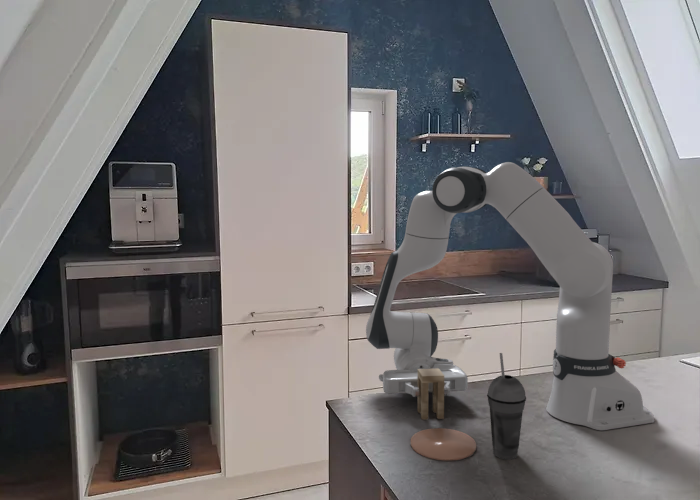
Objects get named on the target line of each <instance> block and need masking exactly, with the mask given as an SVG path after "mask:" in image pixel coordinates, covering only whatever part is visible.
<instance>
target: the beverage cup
mask: <svg viewBox="0 0 700 500" xmlns="http://www.w3.org/2000/svg"><path fill="white" fill-rule="evenodd" d="M499 361H500V363H499V364H500V372H501V374H500V375H498V376H497V377H495V378H494V379H492V381H491V382H490V384H489V386H488V390H487V395H486V396H487V401H488V406H489V417H490V430H491V433H490V434H491V445H492V450H493V451H492V453H493V455H494V456H495V457H497V458H498V459H502V460H514V459H516V458H517V457H518V451H519V448H520V447H519V446H520V440H521V439H520V436H521V432H522V431H521V430H522V422H523V421H522V420H523V413H524V408H525V405H526V401H527V397H526V390H525V388H524V386H523V384H522V383H521V381H520V380H519V379H518V378H516V377H515V376H513V375H509V374H505V366H504V357H503V353H502V352H500V353H499Z"/></svg>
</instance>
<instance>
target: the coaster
mask: <svg viewBox="0 0 700 500" xmlns="http://www.w3.org/2000/svg"><path fill="white" fill-rule="evenodd" d="M410 447H411V448H412V450H413V451H414V452H416V454H419V455H420V456H422V457H425V458H427V459H432V460H438V461H446V462H447V461H448V462H449V461H458V460H464V459H467V458H469V457H471V456H473V454H474V453H475V452H476V451H477V442H476V441H475V439H474V438H473V437H472V436H471V435H469V434H467V433H465V432H462V431H461V430H456V429H451V428H444V427H443V428H442V427H439V428H438V427H437V428H436V427H433V428H428V429H427V428H426V429H422V430H420V431H418V432H415V433H414V434H413V435H412V436H411V438H410Z"/></svg>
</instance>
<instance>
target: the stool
mask: <svg viewBox="0 0 700 500" xmlns="http://www.w3.org/2000/svg"><path fill="white" fill-rule="evenodd" d="M428 383H433V392H432V411H433V413H436V414H435V416H436V419H437V420H441V419H442V420H444V419H445V395H444V374H443V373H442V372H441V371H440V369H439V368H436V369H418V382H417V387H418V388H419V390H420V393H419V394H420V396H418V397H417V402H416V403H417V412H418V414H420V419H421V420H423V421H424V420H429V392H428Z"/></svg>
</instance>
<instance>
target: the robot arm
mask: <svg viewBox="0 0 700 500" xmlns="http://www.w3.org/2000/svg"><path fill="white" fill-rule="evenodd" d="M487 205H489V206H491V207H493V208H494V209H496V210H497V211H498V212H499V213H500V215H501V216H502V217H503V218H504V219H505V220H506V221H507V223H508V224H510V226H511V227H512V228H513V229H514V230H515V232H517V233H518V235H520V237H521V238H522V239H523V240H524V242H525V243H527V244H528V246H529V247H530V248H531V249H532V251H533V252H534V254H535V255H536V257H537V258H538V259H539V261H540V263H541V264H542V265H543V266H544V267H545V270H547V271H548V273H549V275H550V276H551V277H552V278H553V279H554V281H556V283H557V285H558V286H559V293H558V294H559V295H558V304H557V306H558V307H557V313H556V325H555V327H556V329H555V330H556V331H555V349H554V350H553V359H552V373H553V381H552V386H551V390H550V396H549V399H548V402H547V404H546V408H545V409H546V412H548V414H550V415H551V416H552V417H553V418H556V419H558V420H561V421H564V422H567V423H570V424H574V425H579V426H584V427H588V428H590V429H593V430H597V431H607V430H613V429H619V428H627V427H634V426H638V425H639V426H640V425H645V424H651V423H653V424H654V423H655V415H654V414H653V413H652V411H651V410H649V409H648V408H647V407H645V405H644V403H643V398H642V394H641V392H640V390H639V388H638V387H637V386H635V385H634V384H633V383H632V382H631V381H630V380H628V379H627V378H625V376H624V375H622V374H621V373H619V372H618V371H617V369H616V367H617V368H619V369H624V368H625V367H626V364H627V361H626V360H625V359H622V358H620V357H617V356H616V357H615V356H613V355H611V354H610V330H611V329H610V328H611V313H612V312H611V310H612V293H613V292H612V291H613V290H612V289H613V276H614V275H613V273H614V261H613V258H612V256H611V254H610V251H608V250H607V248H605V247H604V245H601V244H600V243H597V242H594V241H592V240H591V238H589V237H588V236H587V234H586V233H585V232H584V230H583V229H582V228H581V227H580V226H579V225H578V224H577V222H576V221H575V220H574V219H573V217H572V216H571V215H570V213H569V212H568V211H567V210H566V209H565V208H564V207H563V206H562V205H561V204H560V203H559V202H558V200H557V199H555V198H554V196H553V195H552V194H551V193H550V192H549V191H548V190H547V188H545V187H544V186H543V185H542V184H541V183H540V182H539V181H538V180H537V179H536V178H535V177H533V175H531V174H530V173H529V172H527V171H526V170H525V169H524V168H522V167H521V166H519V165H518V164H516V163H515V162H510V161H506V162H502V163H499V164H497V165H496V166H494V167H493V168H492V169H491V170H490V171H488V172H486V171H485V170H483V169H481V168H477V167H471V166H458V167H450V168H447V169H445V170H444V171H442V172H441V173H440V174H438V176H436V177H435V180H434V181H433V184H432V189H431V190H425V191H421V192H419V193H417V194H416V195H414V197H413V199H412V201H411V204H410V207H409V212H408V215H407V220H406V226H405V231H404V232H405V234H404V237H403V240H402V242H401V244H400V245H399V247H398V248H397V249H396V250H395V251H392V252H391V254H390V255H389V256H388V259H387V262H386V264H385V267H384V270H383V273H382V276H381V280H380V283H379V286H378V289H377V290H378V291H377V294H376V297H375V299H374V300H375V301H374V304H373V307H372V309H371V312H370V314H369V318H368V319H367V323H366V327H365V332H366V333H365V335H366V336H365V337H366V339H367V341H368V342H369V343H370V345H372V347H374V348H375V349H377V350H382V349H383V350H385V349H388V350H389V349H394V351H393V363H394V366H395V368H396V369H388V370H387V369H386V370H385V371H384V372H383V373H382V374H379V376H378V379H379V381H380V382H382V389H383V393H384V394H388V395H396V394H408V395H411V396H412V397H413V398H416V397H418V396H420V394H419V393H420V390H419V388H418V387H417V382H418V369H436V368H439V369H440V371H441V372H442V373H443V374H444V396H450V395H451V392H465V391H466V390H467V389H468V383H469V381H468V380H469V379H468V375H467V373H466V372H465V371H464V370H463V368H461V367H459V366H457V365H455V364H454V361H453V360H452V359H450V358H449V359H448V358H441V357H440V358H439V357H434V356H433V355H434V353H435V352H436V350H437V346H438V341H439V330H438V325H437V323H436V321H435V320H434V319H433V317H432V316H431V315H430V314H429V313H428V312H427V313H425V312H424V313H423V312H415V311H410V312H406V311H393V310H391V308H392V305H393V304H392V303H393V301H394V298H395V294H396V290H397V287H398V286H399V284H400V282H401V281H402V280H403V279H405V278H407V277H408V276H411V275H413V274H417V273H419V272H425V271H427V270H430V269H432V268H434V267H435V266H437V265H439V263H441V261H443V259H444V258H445V256H446V254H447V249H448V245H449V240H450V239H449V237H450V228H451V224H452V220H453V218H454V216H456V215H457V214H462V213H463V214H464V213H466V214H467V213H472V212H475V211H478V210H480V209H483V208H485V207H486V206H487ZM428 393H433V383H428Z"/></svg>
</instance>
